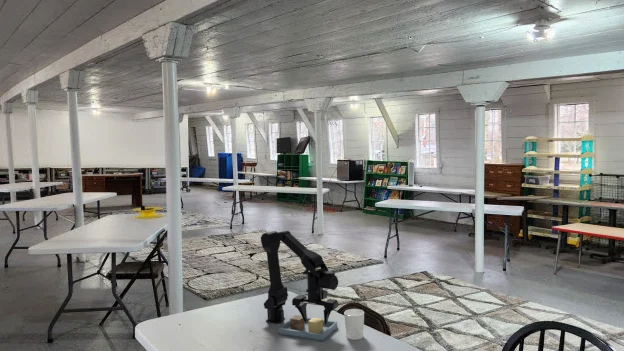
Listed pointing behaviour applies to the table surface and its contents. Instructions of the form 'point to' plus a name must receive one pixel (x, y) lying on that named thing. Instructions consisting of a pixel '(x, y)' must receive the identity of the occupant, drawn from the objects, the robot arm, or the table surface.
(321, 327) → the ochre block
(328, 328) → the slate tray
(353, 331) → the white cup
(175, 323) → the table surface
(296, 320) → the walnut block
